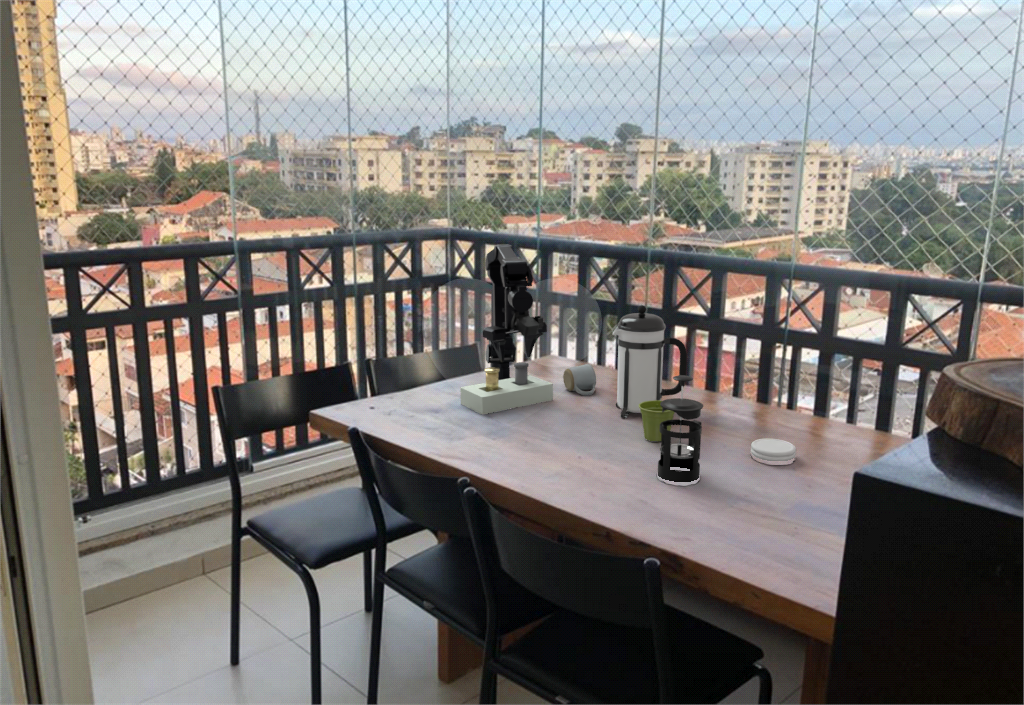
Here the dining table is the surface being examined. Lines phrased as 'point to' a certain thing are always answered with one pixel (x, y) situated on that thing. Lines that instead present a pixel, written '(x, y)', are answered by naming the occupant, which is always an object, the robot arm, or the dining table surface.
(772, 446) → the coaster
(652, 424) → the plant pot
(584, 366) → the ceramic mug
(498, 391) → the block
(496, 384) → the brass plug
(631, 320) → the coffee press
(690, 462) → the french press
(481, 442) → the dining table surface
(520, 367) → the graphite plug
